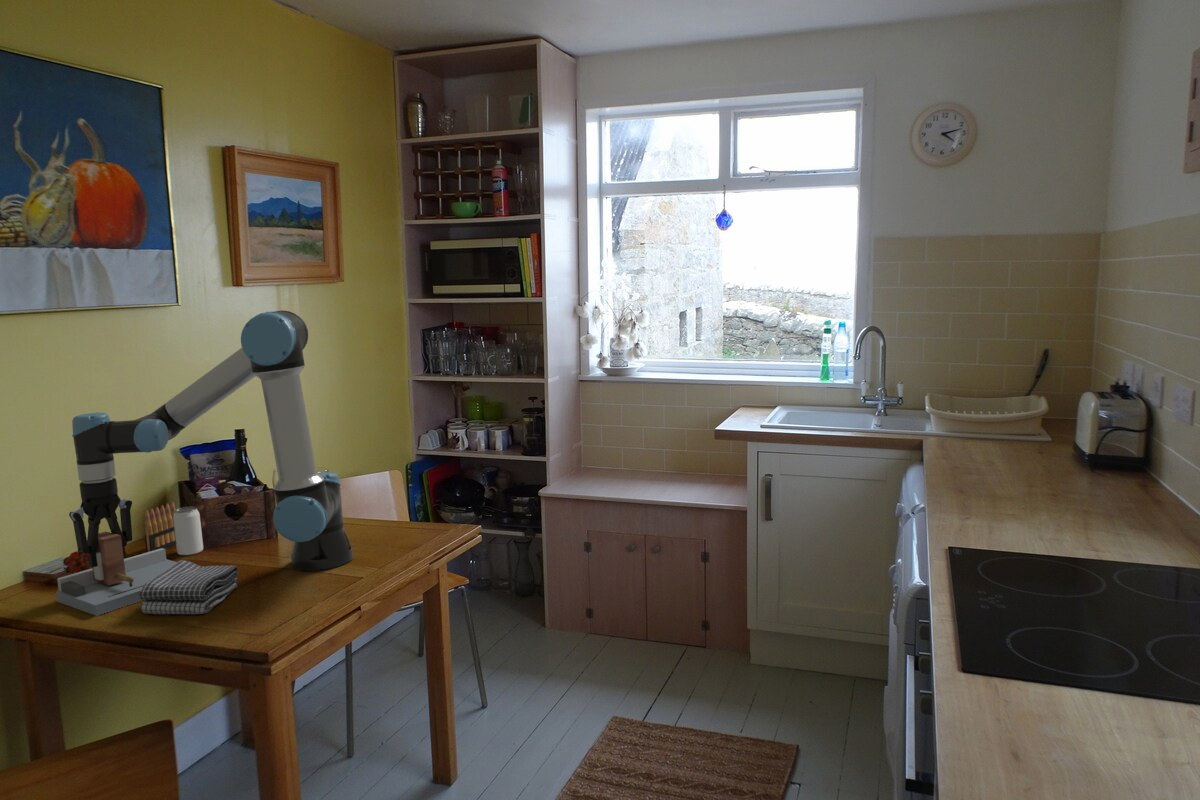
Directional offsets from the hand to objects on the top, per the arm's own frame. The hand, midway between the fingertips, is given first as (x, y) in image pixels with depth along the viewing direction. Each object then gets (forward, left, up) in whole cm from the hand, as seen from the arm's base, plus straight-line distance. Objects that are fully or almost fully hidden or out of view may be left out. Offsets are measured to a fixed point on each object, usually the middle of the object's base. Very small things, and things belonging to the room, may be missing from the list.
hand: (109, 575), depth 205 cm
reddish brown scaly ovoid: (+19, -4, -5) cm, 20 cm away
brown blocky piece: (-3, 0, -1) cm, 3 cm away
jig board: (-3, -4, -4) cm, 6 cm away
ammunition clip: (+24, -27, -5) cm, 36 cm away
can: (+13, -28, -4) cm, 31 cm away
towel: (-24, -6, -5) cm, 25 cm away
